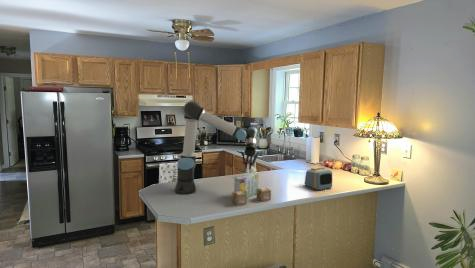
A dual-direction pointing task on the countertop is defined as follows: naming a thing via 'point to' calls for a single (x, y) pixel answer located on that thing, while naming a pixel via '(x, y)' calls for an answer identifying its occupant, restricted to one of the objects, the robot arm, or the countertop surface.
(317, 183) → the alarm clock
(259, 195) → the walnut block
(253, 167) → the toy
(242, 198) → the walnut block
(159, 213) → the countertop surface
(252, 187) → the snack box
